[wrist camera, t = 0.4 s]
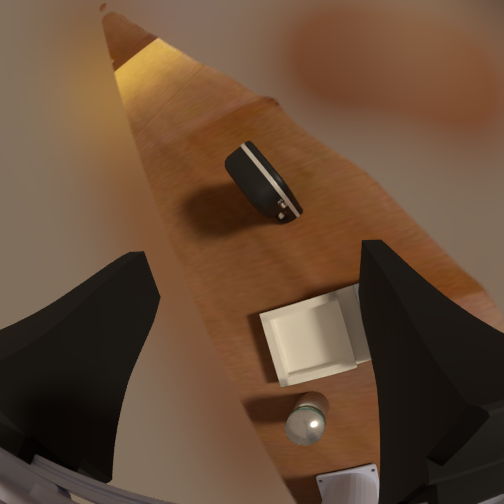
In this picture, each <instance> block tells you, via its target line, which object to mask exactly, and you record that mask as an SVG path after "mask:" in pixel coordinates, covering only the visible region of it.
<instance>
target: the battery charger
mask: <svg viewBox="0 0 504 504" xmlns="http://www.w3.org/2000/svg"><path fill="white" fill-rule="evenodd" d="M225 168H226V170H227V172H228V173H229V175H230V176H231V177H232V179H233V180H234V181H235V182H236V184H237V185H238V187H239V188H240V189H241V191H242V192H243V193H244V195H245V196H246V197H247V199H248V200H249V201H250V203H251V204H252V205H253V206H254V207H255V208H256V209H257V210H258V211H259V212H260V213H261V214H262V215H264V216H266V217H269V218H271V217H274V216H275V217H276V218H277V219H278V220H279V221H280V222H281V223H288V222H291V221H293V220H294V219H295V218H298V217H299V216H300V215H301V214H302V213H303V209H302V208H301V206H300V205H299V203H298V201H297V200H296V198H295V196H294V195H293V193H292V192H291V190H290V189H289V187H288V186H287V184H286V183H285V182H284V180H283V179H282V178H281V176H280V175H279V174H278V173H277V171H276V170H275V169H274V168H273V167H272V165H271V164H270V163H269V162H268V161H267V159H266V158H265V157H264V156H263V155H262V153H261V152H260V151H259V150H258V149H257V148H256V146H255V145H254V144H253V143H252V142H251V141H247V142H245V143H243V144H241V145H240V147H239V148H238V149H237V150H235V151H234V152H233V153H232V154H230V155H229V156H228V157H227V158H226V160H225Z"/></svg>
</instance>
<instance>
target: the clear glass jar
mask: <svg viewBox="0 0 504 504" xmlns="http://www.w3.org/2000/svg"><path fill="white" fill-rule="evenodd" d="M328 408H329V403H328V400H327V399H326V397H325V396H324V395H323V394H321V393H319V392H313V391H312V392H307V393H304V394H303V395H301V396H300V398H299V399H298V401H297V403H296V405H295V407H294V409H293V411H292V412H291V414H290V415H289V417H288V419H287V422H286V425H285V432H286V435H287V437H288V438H289V439H290V440H291V441H292V442H294V443H296V444H299V445H310V444H313V443H315V442H317V441H318V440H319V439H320V438H321V436H322V434H323V432H324V429H325V424H326V418H327V413H328Z"/></svg>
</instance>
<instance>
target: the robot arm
mask: <svg viewBox="0 0 504 504" xmlns="http://www.w3.org/2000/svg"><path fill="white" fill-rule="evenodd" d="M358 295H359V303H360V310H361V318H362V322H363V327H364V331H365V335H366V339H367V343H368V347H369V351H370V356H371V360H372V364H373V369H374V373H375V379H376V385H377V393H378V405H379V421H380V482H379V478H378V473H377V468H376V464H374V463H372V464H368V465H364V466H360V467H356V468H351V469H347V470H342V471H337V472H332V473H326V474H321V475H318V476H317V477H316V480H317V483H318V487H319V490H320V493H321V497H322V503H321V504H504V333H502V332H500V331H498V330H497V329H495V328H493V327H491V326H490V325H488V324H486V323H485V322H483V321H481V320H480V319H478V318H476V317H475V316H473V315H472V314H470V313H469V312H467V311H466V310H464V309H463V308H461V307H460V306H459V305H457V304H456V303H454V302H453V301H451V300H450V299H449V298H447V297H446V296H445V295H443V294H442V293H441V292H440V291H438V290H437V289H436V288H435V287H434V286H432V285H431V284H430V283H429V282H427V281H426V280H425V279H424V278H423V277H422V276H420V275H419V274H418V273H417V272H416V271H415V270H414V269H413V268H411V267H410V266H409V265H408V264H407V263H406V262H405V261H404V260H403V259H402V258H401V257H400V256H398V255H397V254H396V253H395V252H394V251H393V250H392V249H391V248H390V247H389V246H388V245H387V244H385V243H384V242H383V241H382V240H362V249H361V264H360V277H359V288H358ZM159 300H160V294H159V292H158V289H157V287H156V284H155V281H154V278H153V276H152V273H151V270H150V267H149V265H148V262H147V259H146V256H145V253H144V251H142V252H129V253H127V254H125V255H123V256H121V257H120V258H118V259H116V260H115V261H114V262H112V263H110V264H109V265H107V266H106V267H104V268H103V269H102V270H100V271H99V272H97V273H96V274H94V275H93V276H92V277H90V278H89V279H87V280H86V281H84V282H83V283H82V284H80V285H79V286H77V287H76V288H74V289H73V290H71V291H70V292H68V293H67V294H65V295H64V296H63V297H61V298H60V299H58V300H56V301H55V302H53V303H52V304H50V305H48V306H47V307H45V308H43V309H41V310H40V311H38V312H36V313H34V314H33V315H31V316H29V317H27V318H25V319H23V320H21V321H19V322H17V323H15V324H13V325H10V326H8V327H6V328H3V329H1V330H0V504H79V503H77V502H75V501H73V500H72V499H71V495H70V494H69V493H72V494H74V495H76V496H78V497H81V498H83V499H85V500H88V501H90V502H92V503H95V504H176V503H171V502H167V501H163V500H158V499H155V498H151V497H147V496H143V495H139V494H136V493H133V492H129V491H126V490H123V489H119V488H116V487H114V486H110V485H108V484H106V483H108V482H110V481H111V480H112V470H113V456H114V446H115V439H116V433H117V426H118V421H119V417H120V411H121V407H122V402H123V399H124V395H125V392H126V388H127V385H128V381H129V378H130V376H131V373H132V370H133V368H134V366H135V363H136V361H137V359H138V356H139V354H140V352H141V349H142V347H143V345H144V343H145V340H146V338H147V336H148V333H149V331H150V329H151V327H152V324H153V322H154V319H155V315H156V312H157V309H158V305H159ZM372 469H375V470H372ZM319 480H322V481H319Z"/></svg>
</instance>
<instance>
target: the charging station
mask: <svg viewBox="0 0 504 504" xmlns="http://www.w3.org/2000/svg"><path fill="white" fill-rule="evenodd" d="M358 288H359V283H357V284H354V285H352V286H349V287H346V288H342V289H339V290H336V291H333V292H330V293H327V294H324V295H321V296H318V297H315V298H311V299H308V300H305V301H302V302H299V303H295V304H292V305H289V306H285V307H282V308H279V309H275V310H272V311H269V312H265V313H262V314H259V315H260V318H261V322H262V325H263V328H264V332H265V335H266V339H267V342H268V345H269V349H270V352H271V356H272V359H273V362H274V366H275V369H276V373H277V376H278V379H279V383H280V386H281V387H284V386H288V385H293V384H297V383H301V382H305V381H309V380H313V379H317V378H321V377H325V376H329V375H333V374H336V373H340V372H343V371H347V370H350V369H354V368H357V364H359V363H362V362H365V361H368V360H371V356H370V351H369V347H368V343H367V339H366V335H365V331H364V327H363V322H362V318H361V310H360V303H359V295H358Z"/></svg>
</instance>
